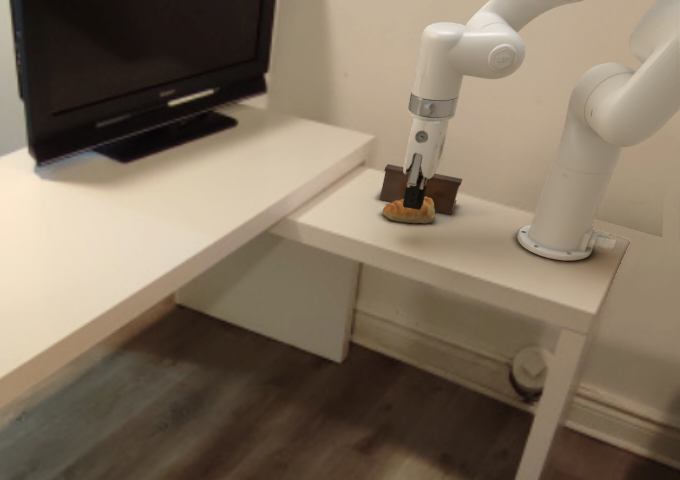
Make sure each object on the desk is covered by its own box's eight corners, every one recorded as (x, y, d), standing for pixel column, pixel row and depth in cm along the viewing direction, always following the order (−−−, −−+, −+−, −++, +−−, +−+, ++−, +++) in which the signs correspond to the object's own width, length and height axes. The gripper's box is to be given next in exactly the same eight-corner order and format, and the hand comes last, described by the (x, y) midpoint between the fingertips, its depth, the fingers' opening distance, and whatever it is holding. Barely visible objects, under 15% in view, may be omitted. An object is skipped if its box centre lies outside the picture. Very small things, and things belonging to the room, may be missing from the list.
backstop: (456, 206, 157) (465, 173, 153) (451, 215, 154) (460, 182, 150) (384, 190, 162) (391, 159, 158) (378, 199, 159) (385, 167, 155)
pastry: (388, 225, 150) (392, 207, 148) (376, 210, 155) (380, 191, 153) (436, 224, 151) (441, 205, 149) (423, 208, 156) (427, 190, 154)
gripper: (446, 122, 125) (424, 228, 136) (464, 93, 135) (442, 194, 146) (398, 115, 128) (380, 219, 139) (419, 88, 138) (401, 187, 149)
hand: (412, 206), depth 143 cm, fingers closed
